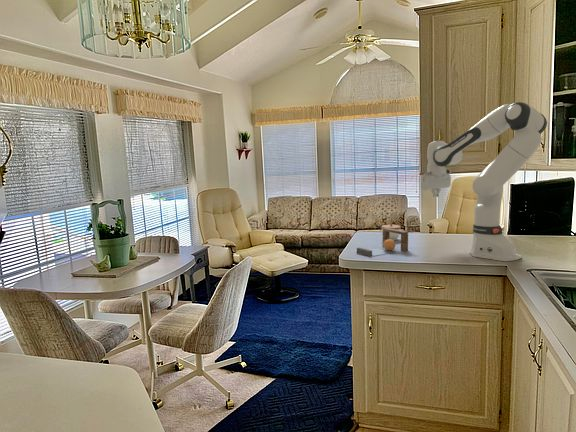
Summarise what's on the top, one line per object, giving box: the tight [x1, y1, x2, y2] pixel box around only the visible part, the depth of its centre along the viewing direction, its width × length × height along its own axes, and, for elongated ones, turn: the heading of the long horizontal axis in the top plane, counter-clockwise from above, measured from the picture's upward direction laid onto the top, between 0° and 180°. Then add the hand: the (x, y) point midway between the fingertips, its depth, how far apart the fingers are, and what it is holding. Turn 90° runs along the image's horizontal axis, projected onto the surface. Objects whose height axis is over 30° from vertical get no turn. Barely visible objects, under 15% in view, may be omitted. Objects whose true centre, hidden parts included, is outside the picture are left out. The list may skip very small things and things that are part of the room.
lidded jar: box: [381, 223, 402, 241], centre depth 249 cm, size 11×11×9 cm
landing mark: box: [368, 248, 393, 257], centre depth 220 cm, size 12×12×1 cm
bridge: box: [382, 228, 409, 252], centre depth 226 cm, size 3×15×10 cm, turn 32°
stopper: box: [356, 247, 372, 257], centre depth 216 cm, size 9×2×2 cm, turn 32°
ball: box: [382, 239, 396, 252], centre depth 221 cm, size 6×6×6 cm
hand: (436, 197), depth 236 cm, fingers closed
